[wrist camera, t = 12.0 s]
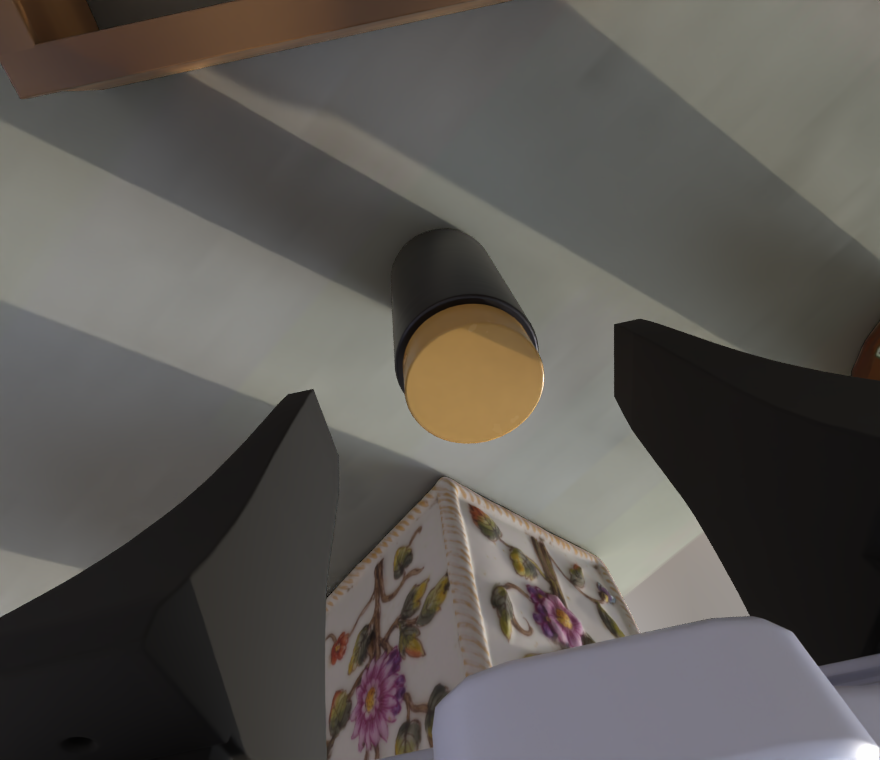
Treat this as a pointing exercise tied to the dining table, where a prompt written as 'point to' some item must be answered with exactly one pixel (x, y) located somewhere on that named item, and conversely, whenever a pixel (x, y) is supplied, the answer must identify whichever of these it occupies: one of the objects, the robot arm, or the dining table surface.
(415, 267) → the pepper shaker
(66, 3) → the open wooden box
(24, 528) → the dining table surface
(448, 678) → the decorative jar
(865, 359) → the food container
